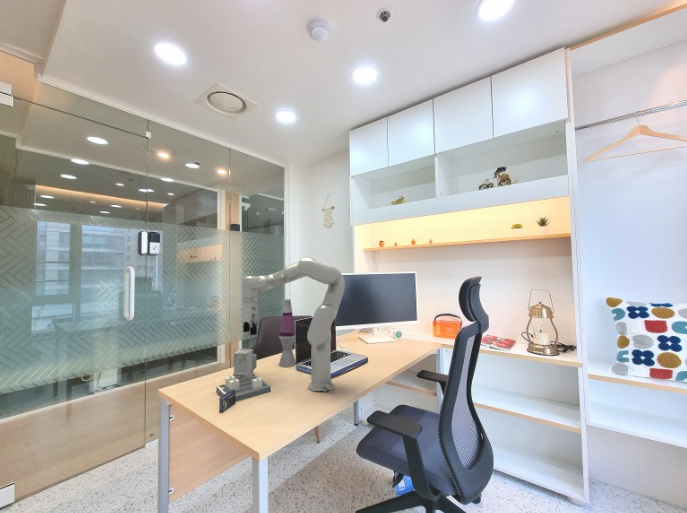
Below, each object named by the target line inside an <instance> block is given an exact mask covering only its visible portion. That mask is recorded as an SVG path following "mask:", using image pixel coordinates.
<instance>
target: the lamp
mask: <svg viewBox="0 0 687 513" xmlns="http://www.w3.org/2000/svg"><path fill="white" fill-rule="evenodd" d="M283 301H284V302H283V307H282V308H283V309H282V315H281V316H282V317H281V322H280V329H279V330H280V331H279V335H278V337H279V340H280V344H281V346H282V352H281V356H280V359H279V362H278V366H279V367H280V366H281V368H291V367H290V366H292V367H294V365H295V361H296V358H295V354H294V351H293V346H294V343H295V340H296V337H295V334H296V330H295V329H296V327H295V322H294V321H295V320H294V316H293V309H292V301H291V299H288V298H287V299H284V300H283ZM295 366H296V365H295Z"/></svg>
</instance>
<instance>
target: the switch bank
mask: <svg viewBox="0 0 687 513" xmlns="http://www.w3.org/2000/svg"><path fill="white" fill-rule="evenodd" d="M256 377H257V378H259V376H253V377H251V378H247V379H243V380H239V389H238V390H235V403H237V402H239V401H240V402H241V401H243V400H247V399H250V398H252V397H253V398H254V397H257V396H260V395H264V394H266V393H269V392H272V390H271V389H272V388H271V385H270V384H268V383H267V382H265V381H264V380H263V379H262V388H259V389H255V390H253V389H252V379H255V378H256ZM215 389H216V391H215V392H216V393H217V394H218V395H219V397H221V396H223V395H224V394H226V393H227V392H229V391H230V390H229V387H228V388H226V387H225V383H223V384H221V385H216V388H215Z"/></svg>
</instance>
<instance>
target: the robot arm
mask: <svg viewBox="0 0 687 513" xmlns="http://www.w3.org/2000/svg"><path fill="white" fill-rule="evenodd" d="M305 277H307V278H310V279H312V280H315V281H316V282H318V283H321V284H323V285H328V286H327V290H326V291H325V295H324V298H323V300H322V302H321V304H320V305H319V306H318V307H317V308H316V309H315V311H314V313H313V317H312V319H311V320H310V321H311V322H310V325H309V327H308V330H307V335H306V338H307V341H308V344H310V345H311V352H310V354H311V357H310V358H311V360H310V362H311V363H310V364H311V366H310V367H311V374H310V375H311V382H309V383H308V389H309V390H310V391H312V390H313V391H312V392H315V391H324V392H326V391H325V390H329V391H331V390H332V389H334V387H335V386H334V385H335V384H334V382H333V381H332V378H331V377H332V376H331V371H332V369H331V345H332V344H331V343H332V330H331V327H332V324H333V322H334V320H335V319H336V317H337V314H338V311H339V307H340V304H341V302H342V299H343V296H344V292H345V290H346V289H345V287H346V283H345V278H344V276H343V274H342V273H341V271H340V270H339V269H338V268H336V267H334V266H328V265H325V264H323V263H321V262H319V261H317V260H316V259H315V258H313V257H309V256H308V257H306V256H305V257H303V258H300V259H299V261H296V262H293V263H291V264H290V263H289V264H287V265H285V266H284V267H283V268H282V269H281V270H280V271H277V272H274V273H272V274H268V275H258V276H255V275H254V276H253V275H247V276H243V277H242V280H241V282H242V284H241V285H242V286H241V287H242V288H241V289H242V292H241V294H242V296H241V301H242V304H243V305H242V306H243V307H242V321H243V323H242V324H243V326H242V328H243V329H242V331H243V333H249V332H250V333H249V335H250V336H254V335H255V336H256V335H257V333H258V332H257V331H258V330H257V328H258V322H259V308H258V291H267V290H272V289H275V288H278V287H280V286H283V285H285V284H288V283H289V284H290V283H292V282H295V281H297V280H299V279H302V278H305ZM333 386H334V387H333ZM331 388H332V389H331ZM330 389H331V390H330Z"/></svg>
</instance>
